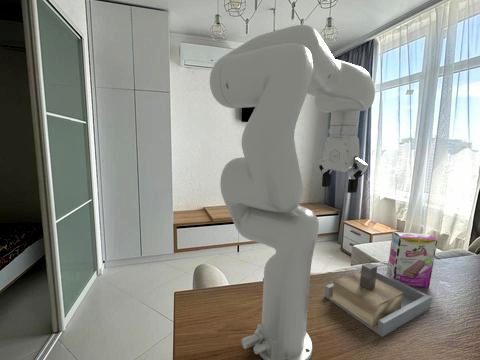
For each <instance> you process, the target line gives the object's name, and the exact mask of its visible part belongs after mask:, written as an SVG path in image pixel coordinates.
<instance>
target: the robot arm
mask: <svg viewBox="0 0 480 360" xmlns="http://www.w3.org/2000/svg"><path fill="white" fill-rule="evenodd" d="M209 89H210V92H211V94H212V96H213V98H214V99H215V101H216V102H217V103H218V104H220V105H221V106H223V107H225V108H229V109H242V108H254V109H253V111H252V113H251V115H250V117H249V119H248V121H247V123H246V125H245V126H244V129H243V133H242V135H241V136H242V137H241V149H242V153H243V157H242V156H241V157H236V158H233V159H232V160H230V161H228V162H227V163H226V164H225V166H224V167H223V170H222V171H221V175H220V182H219V183H220V185H219V186H220V192H221V193H220V194H221V195H222V199H223V202H224V204H225V206H226V209H227V211H228V212H229V215H230V218H231V220H232V221H233V222H232V223H233V224H234V226H235V228H236V230H237V232H238V233H239V234H240V236H242V237H243V238H245V239H246V240H249V241H251V242H255V243H258V244H261V245H265V246H267V247H270V248H272V249H274V250H275V252H274V254H273V255H271V257H270V258H268V259H267V261H266V263H265V265H264V269H263V288H262V289H263V290H262V310H261V323H259V324H257V325H256V326H257V327H256V330H255V331H254V332H253V334H252V335H248V336H245V337H243V338H242V339H241V344H242V347H243V349H244V350H246V349H248V348H251V347H253V352H254V354H255V355H259V356H260V357H261V359H263V360H310V359H311V358H312V353H313V343H312V341H313V340H312V339H311V337H310V335H309V334H308V332H307V323H308V321H307V320H308V309H309V298H310V297H309V295H310V284H311V283H310V282H311V271H312V262H313V256H314V252H315V248H316V245H317V244H316V243H317V240H318V237H319V236H318V235H319V231H320V222H319V218H318V217H317V215H316V214H315V213H314V212H313V211H312V210H311V209H309V208H308V207H304V206H301V202H302V200H303V195H304V187H303V179H302V175H301V171H300V170H301V169H300V165H299V160H298V155H297V149H296V142H295V132H296V127H297V122H298V119H299V116H300V113H301V110H302V107H303V106H304V103H305V100H306V98H307V95H309V96H313V97H314V104H315V106H316V108H317V109H318V111H320V112H322V113H327V114H328V113H331V115H330V124H329V125H330V127H329V128H328V130H327V132H328V134H329V136H327V137H326V140H325V143H324V144H325V145H324V149H323V154H322V157H321V158H318V160H317V163H318V166H319V168H318V169H319V170H320V174H321V175H322V179H321V180H322V181H321V187H324V188H329V187H331V185H332V184H331V183H332V174H331V172H332V171H333V172H334V171H336V172H343V173H344V172H346V173H347V175H348V176H349V177H350V178H348V183H347V190H346V191H347V193H348V194H351V193H357V191H358V184H359V180H360V179H361V177H362V176H364V175H365V173H366V171H367V169H368V168H369V164H368V163H366V162H365V161H363V160H362V159H360V140H359V137H358V129H359V117H360V112H362V111H363V112H364V111H367V110H369V109H370V108H371V106H372V105H373V103H374V101H375V95H376V90H375V89H376V88H375V85H374V82H373V79H372V76H371V75H370V73H369V71H367V70H366V69H365V68H363V67H362V66H359V65H356V64H352V63H350V62H346V61H344V60H341V59H335V57H334V56H333V53H331V51H330V49H329V47H328V46H327V44H326V43H325V41H324V40H323V38H322V37H321V35H320V33H319V32H318V31H317V30H316V29H315V28H314V27H313V26H310V25H307V24H298V25H297V24H295V25H292V26H288V27H284V28H281V29H277V30H274V31H273V30H272V31H271V32H267V33H263V34H260V35H257V36H255V37H253V38H251V39H250V40H248V41H246V42H245V43H243V44H241V45H239V46H237V48H235V49H233V50H231V51H229V52H227V53H226V54H224V55H223V56H221V57H220V58H219V59H217V61H216V62H215V63H214V64H213V66H212V69H211V71H210V76H209Z"/></svg>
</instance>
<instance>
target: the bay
mask: <svg viewBox="0 0 480 360" xmlns="http://www.w3.org/2000/svg"><path fill="white" fill-rule="evenodd" d="M376 279H378V280H380V281H382V282H384V283H386V284H388V285H390V286H392V287H393V288H395V289H397V290H399V291H401V292H403V296H402V303H401V309H399V310H397V311H395V312H393V313H391V314H389V315H387V316H385V317H384V318H382V319H380V320H379V321H378V324H376V325H375V326H373V327H372V326H370V325H369V324H367V323H366V322H364V321H363V320H362V319H360V318H359V317H357V316H356V315H354V314H353V313H352V312H350V311H349V310H347V309H346V308H344V307H343V306H341V305H340V304H339V303H337V302H336V301H334V300H333V299H332V295H333V284H334V283H329V284H327V285H325V294H324V298H326V299H327V300H329V301H330V302H331V303H333V304H335V305H336V306H337V307H339V308H340V309H341V310H343V311H344V312H345V313H347V314H349V315H350V316H352V317H353V318H355V319H356V320H357V321H359V322H360V323H361V324H363V325H365V326H366V327H367V328H368V329H370V330H371V331H372V332H373V333H376V334H377V335H379V336H380V337H382V338H383V337H385V336H386V335H388V334H389V333H391V332H393V331H394V330H396V329H397V328H399V327H401V326H403V325H404V324H406V323H408V322H409V321H412V320H413V319H414V318H415V319H416V317H418V316H420V315H421V314H424V313H425V312H427V311H429V310H430V309H431V304H432V298H433V296H430V295H428V294H427V293H424V292H422V291H420V290H418V289H417V288H415V287H413V286H408V285H406V284H404V283H402V282H400V281H398V280H396V279H393V278H391V277H389V276H387V274H385V273H383V272H382V271H379V270H377V274H376Z"/></svg>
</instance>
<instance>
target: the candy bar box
mask: <svg viewBox="0 0 480 360" xmlns="http://www.w3.org/2000/svg"><path fill="white" fill-rule="evenodd" d="M391 234H392V235H391V243H390V249H389V255H388V256H389V257H388V263H387V269H386V275H387V276H389V277H391V278H393V279H396V280H398V281H400V282H402V283H404V284H406V285H408V286H410V287H412V288H427V289H428V288H430V284H431V278H432V273H433V266H434V262H435V256H436V250H437V244H438V240H439V239H437V238H436V237H434V236H432V235H431V234H428V233H415V232H401V231H392V233H391Z"/></svg>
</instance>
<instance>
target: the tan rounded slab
mask: <svg viewBox="0 0 480 360" xmlns="http://www.w3.org/2000/svg"><path fill="white" fill-rule="evenodd" d="M377 271H378V266H377V265H375V264H373V263H371V262H367V263H364V264H361V271H358V272H355V273H352V274H349V275H347V276H343V277H340V278H338V279H335V280H333V283H334V284H333V295H332V299H333V300H334V301H336V302H337V303H339V304H340V305H341V306H343V307H344V308H346V309H347V310H349V311H350V312H352V313H353V314H354V315H356V316H357V317H359V318H360V319H362V320H363V321H364V322H366V323H367V324H369V325H370V326H372V327H373V326H375V325H376V324H378V321H379V320H380V319H382V318H384V317H385V316H387V315H389V314H391V313H393V312H395V311H397V310H399V309H401V303H402V296H403V292H401V291H399V290H397V289H395V288H393V287H392V286H390V285H388V284H386V283H384V282H382V281H380V280H378V279H376V274H377Z"/></svg>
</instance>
